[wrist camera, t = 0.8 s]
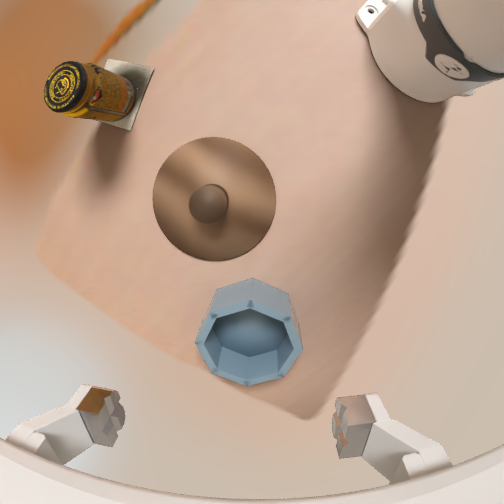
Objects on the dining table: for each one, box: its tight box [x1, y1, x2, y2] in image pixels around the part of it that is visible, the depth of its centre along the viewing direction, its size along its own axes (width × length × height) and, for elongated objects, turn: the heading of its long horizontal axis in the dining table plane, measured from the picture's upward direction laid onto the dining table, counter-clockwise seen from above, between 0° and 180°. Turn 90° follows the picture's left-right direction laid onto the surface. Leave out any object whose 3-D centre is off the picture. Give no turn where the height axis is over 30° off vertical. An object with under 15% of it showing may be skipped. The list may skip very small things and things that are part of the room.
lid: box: [153, 137, 276, 260], centre depth 35 cm, size 15×15×4 cm
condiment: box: [44, 59, 154, 131], centre depth 27 cm, size 7×8×12 cm
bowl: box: [195, 278, 303, 386], centre depth 39 cm, size 12×12×6 cm
